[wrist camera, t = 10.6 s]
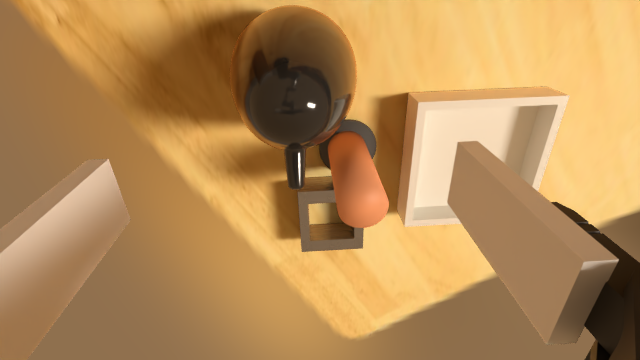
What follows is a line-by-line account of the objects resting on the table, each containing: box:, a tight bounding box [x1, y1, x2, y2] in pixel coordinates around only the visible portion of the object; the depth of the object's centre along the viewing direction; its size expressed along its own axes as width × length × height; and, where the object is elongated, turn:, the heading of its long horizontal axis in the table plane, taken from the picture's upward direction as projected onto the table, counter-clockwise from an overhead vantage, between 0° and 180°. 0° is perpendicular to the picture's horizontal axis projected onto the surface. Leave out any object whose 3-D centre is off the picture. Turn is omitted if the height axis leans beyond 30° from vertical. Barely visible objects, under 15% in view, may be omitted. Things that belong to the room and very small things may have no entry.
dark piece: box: [230, 5, 357, 190], centre depth 25 cm, size 10×10×15 cm
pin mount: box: [298, 176, 363, 252], centre depth 39 cm, size 8×7×3 cm
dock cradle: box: [397, 87, 569, 227], centre depth 36 cm, size 14×14×3 cm
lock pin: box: [328, 131, 389, 228], centre depth 31 cm, size 4×4×11 cm
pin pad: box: [319, 120, 376, 169], centre depth 36 cm, size 6×6×1 cm
